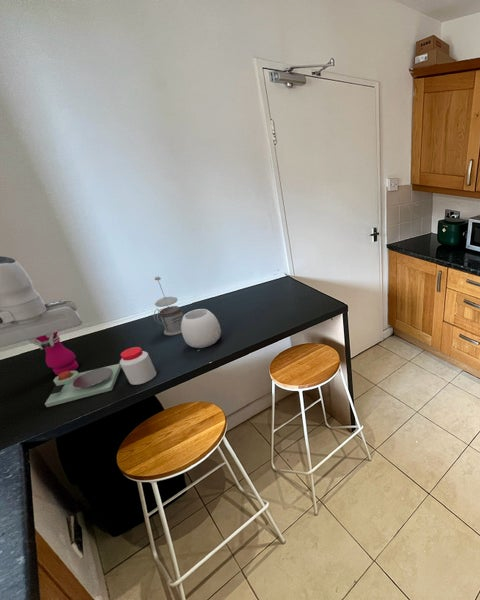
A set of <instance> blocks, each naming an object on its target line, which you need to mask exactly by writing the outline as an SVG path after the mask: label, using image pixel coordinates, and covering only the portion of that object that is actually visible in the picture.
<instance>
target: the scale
mask: <svg viewBox="0 0 480 600" xmlns="http://www.w3.org/2000/svg"><path fill="white" fill-rule="evenodd" d="M102 368H110V369H112V371H113V373H112V375H111V376H110V377H109V378H108V379H107V380H105V381H103V382H102V383H100V384H97V385H95V386H92V387H88V388H82V389H78V388H75V387H74V386H73V382H74V381H75V379H77V378H78V377H79V376H81V375H82V374H84V373H86V372H89V371H91V370H92V369H91V370H85V371H83V372H82V371H81V372H78V370H74V371H70V372H71V373H72V376H71V377H70V378H67V379H64V380H60V378H59V377H58V375H56V376H55V377H54V379H53V383H54V384H55V386H58V385H62V384H65V385H64V387H63V389H62V390H61V392H58V393H54V394H51V395H50V394H49V397H48V398H47V399H46V401H45V403H44V406H45V407H46V408H50V407H53V406H57V405H60V404H61V405H62V404H65V403H68V402H73V401H76V400H80V399H83V398H87V397H91V396H95V395H100V394H102V393H107V392H110V391H113V389H114V386H115V384H116V382H117V379H118V376H119V373H120V372H121V369H122V367H121V365H120V363H116V364H112V365H111V364H110V365H108V366H107V365H106V366H104V367H102Z"/></svg>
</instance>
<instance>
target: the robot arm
mask: <svg viewBox="0 0 480 600" xmlns="http://www.w3.org/2000/svg"><path fill="white" fill-rule="evenodd" d="M82 324H83V319H82V317H81V316H80V314H79V313H78V311H77V306H76V304H75V302H74V301H72V300H66V299H62V300H59V301H54V302H49V303H45V301H44V300H43V298H42V296H41V294H40V293H39V292H38V291H37V290H36V289H35V287H34V283H33V280H32V279H31V277H30V276H29V274H28V272H27V271H26V270H25V268H24V267H23V266H22V265H21V264H20V263H19V262H18V261H17V260H16V259H14V258H12V257H8V256H2V255H1V256H0V349H1V348H5V347H7V346H11V345H15V344H18V343H23V342H26V341H28V342H29V343H30V344H33V345H35V346H38V347H39V349H40V350H45V348H49V347H52V346H54V343H53V342H52V339H53V333H55V332H58V333H59V332H63V331H66V330H69V329H73V328H76V327H80V326H81V325H82ZM44 335H46V337H47V338H48V337H49V340H48V341H45V342H40V341H39V340H37V337H41V336H44Z"/></svg>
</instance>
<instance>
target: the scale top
mask: <svg viewBox="0 0 480 600" xmlns="http://www.w3.org/2000/svg"><path fill="white" fill-rule="evenodd" d="M88 371H89V372H86V371H85V372H86V373H84V374H82V375H81V376H79V377H78V378H77V379H75V381H74V382H73V386H74V387H75V388H78V389H82V388H88V387H92V386H95V385H97V384H100V383H102V382H103V381H105V380H107V379H108V378H109V377H110V376H111V375H112V373H113V371H112V369H110V368H103V367H99V368H98V367H97V368H95V369H91V371H90V370H88ZM64 385H65V384H62V385H58V386H56V385H54V387H53V389H52V390H51V392H50V393H49V396H50V395H51V394H54V393H58V392H61V390H62V389H63V387H64Z"/></svg>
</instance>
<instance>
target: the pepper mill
mask: <svg viewBox="0 0 480 600" xmlns="http://www.w3.org/2000/svg"><path fill="white" fill-rule="evenodd" d="M58 333H59V332H55V333H53V339H52V342H53V343H54V346H52V347H49V348H45V349H44V351H45V364H46V365H47V367H48V368H50V369H52V371H53V373H54V374H55V375H56V376H58V375H59V374H60V373H62V372H65V371H77V369H78V368H79V366H80V365H79V363H78V361H76V358H77V356H76V354H75V353H74V352H73V351H72V350H70V349H69V348H67V347H65V345H63V344H62V342H61V337H60V335H59V334H58ZM48 340H49V337H48V338H47V337H46V335H44V336H41V337H37V341H40V342H45V341H48Z"/></svg>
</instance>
